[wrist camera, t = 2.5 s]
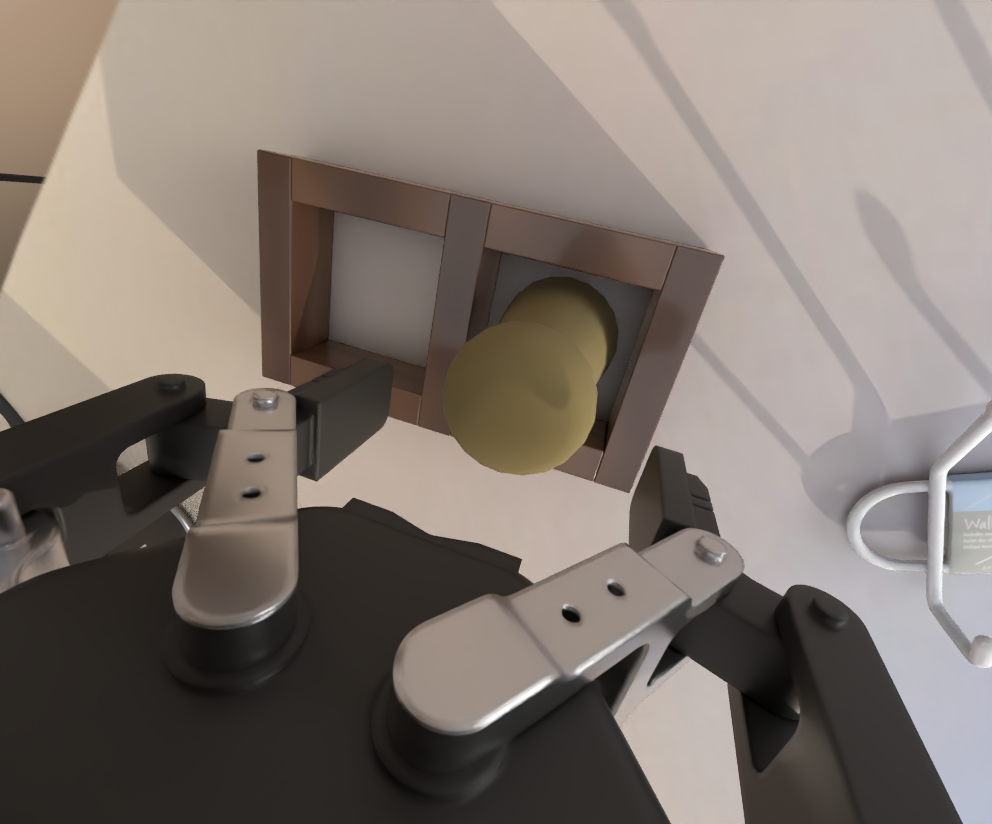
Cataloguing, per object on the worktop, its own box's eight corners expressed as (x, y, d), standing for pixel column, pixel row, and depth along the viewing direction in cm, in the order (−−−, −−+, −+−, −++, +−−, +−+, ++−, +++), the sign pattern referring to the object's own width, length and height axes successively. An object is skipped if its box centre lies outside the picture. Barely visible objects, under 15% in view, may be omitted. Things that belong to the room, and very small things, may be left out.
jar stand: (302, 359, 29) (261, 376, 25) (305, 157, 24) (256, 148, 21) (630, 460, 25) (630, 493, 22) (710, 250, 21) (725, 255, 17)
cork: (511, 265, 23) (422, 300, 13) (632, 289, 22) (633, 346, 12) (493, 377, 26) (408, 475, 16) (601, 403, 25) (581, 526, 15)
